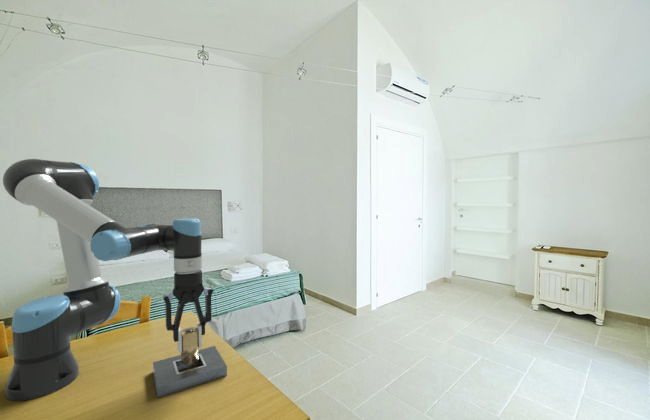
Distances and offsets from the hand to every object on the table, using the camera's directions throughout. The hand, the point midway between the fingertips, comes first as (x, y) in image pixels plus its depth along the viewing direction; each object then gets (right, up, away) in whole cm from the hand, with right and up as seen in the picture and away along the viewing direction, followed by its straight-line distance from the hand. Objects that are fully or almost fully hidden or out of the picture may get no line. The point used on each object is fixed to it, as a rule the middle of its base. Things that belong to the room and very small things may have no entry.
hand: (189, 348), depth 89 cm
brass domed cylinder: (0, -4, 0) cm, 4 cm away
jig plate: (0, -8, 0) cm, 8 cm away
